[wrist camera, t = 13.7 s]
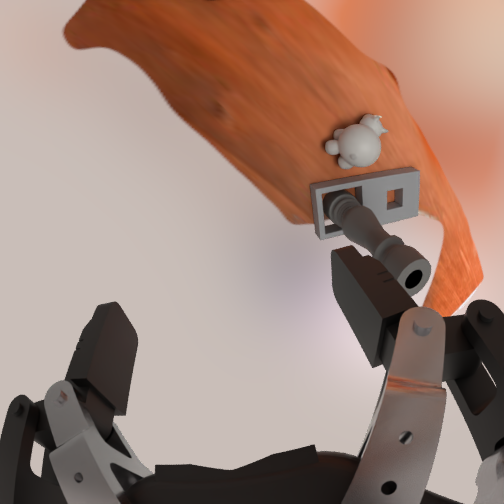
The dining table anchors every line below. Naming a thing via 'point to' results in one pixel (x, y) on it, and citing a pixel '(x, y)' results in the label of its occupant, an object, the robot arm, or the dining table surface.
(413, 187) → the hole board
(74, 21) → the dining table surface
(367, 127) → the toy rhinoceros
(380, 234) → the candle holder
